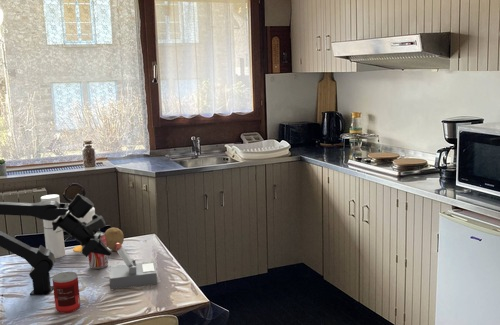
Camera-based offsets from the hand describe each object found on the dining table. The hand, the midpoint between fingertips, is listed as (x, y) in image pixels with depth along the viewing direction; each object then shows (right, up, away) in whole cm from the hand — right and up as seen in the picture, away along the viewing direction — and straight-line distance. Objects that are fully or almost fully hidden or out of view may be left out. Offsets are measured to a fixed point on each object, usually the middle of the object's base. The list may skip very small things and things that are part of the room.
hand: (110, 254), depth 198 cm
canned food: (-9, -15, -17) cm, 25 cm away
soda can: (-9, -8, +19) cm, 22 cm away
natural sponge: (-7, -5, +37) cm, 38 cm away
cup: (-21, -4, +41) cm, 46 cm away
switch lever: (+7, -5, +3) cm, 9 cm away
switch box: (+7, -10, +4) cm, 13 cm away
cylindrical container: (-31, -6, +34) cm, 46 cm away
